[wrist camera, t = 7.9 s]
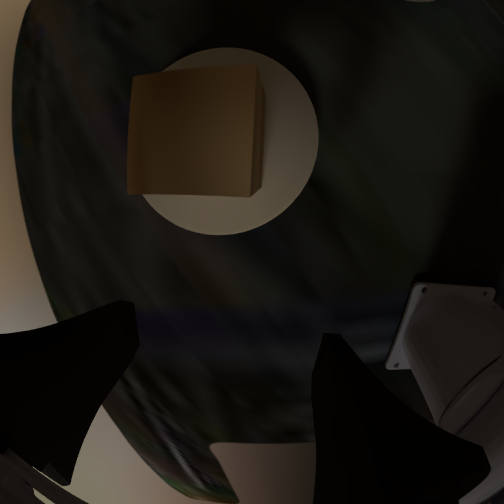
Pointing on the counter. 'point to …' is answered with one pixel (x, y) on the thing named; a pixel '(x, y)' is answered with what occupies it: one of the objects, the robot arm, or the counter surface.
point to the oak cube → (197, 132)
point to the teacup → (420, 0)
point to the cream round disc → (274, 156)
